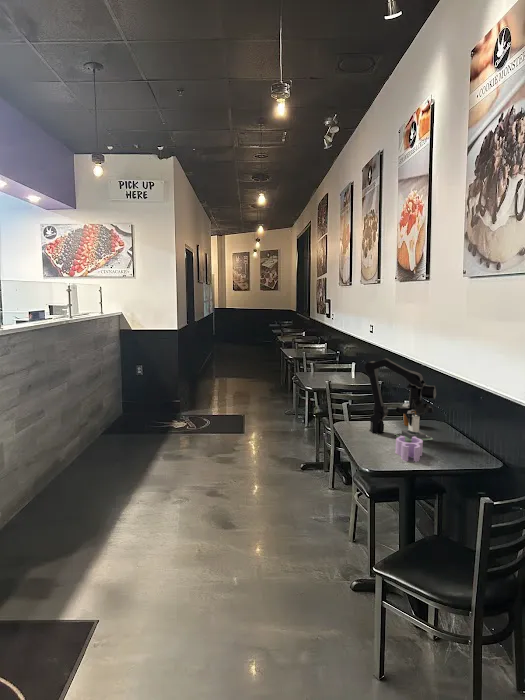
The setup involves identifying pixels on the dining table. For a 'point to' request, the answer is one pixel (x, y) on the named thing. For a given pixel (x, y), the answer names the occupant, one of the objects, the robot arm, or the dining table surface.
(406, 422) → the disposable coffee cup
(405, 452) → the clip
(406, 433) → the header socket
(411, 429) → the keyed plug
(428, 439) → the circuit board
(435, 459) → the dining table surface
